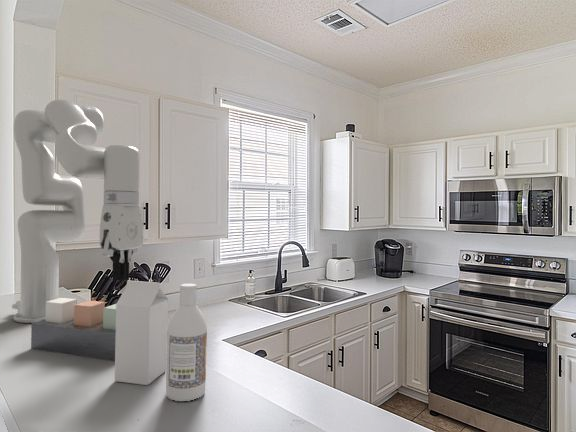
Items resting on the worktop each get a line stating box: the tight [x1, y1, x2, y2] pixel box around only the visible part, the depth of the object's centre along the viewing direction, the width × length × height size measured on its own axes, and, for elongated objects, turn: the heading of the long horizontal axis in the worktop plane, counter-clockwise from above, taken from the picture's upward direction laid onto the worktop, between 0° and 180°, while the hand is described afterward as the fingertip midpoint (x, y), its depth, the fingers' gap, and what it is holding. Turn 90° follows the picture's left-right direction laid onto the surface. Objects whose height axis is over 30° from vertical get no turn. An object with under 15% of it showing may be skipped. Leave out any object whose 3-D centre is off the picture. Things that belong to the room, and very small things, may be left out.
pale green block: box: [103, 303, 117, 330], centre depth 92 cm, size 5×5×6 cm
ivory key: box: [46, 297, 78, 323], centre depth 96 cm, size 5×5×6 cm
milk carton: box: [114, 279, 169, 386], centre depth 79 cm, size 7×7×19 cm
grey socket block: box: [30, 319, 116, 362], centre depth 94 cm, size 23×10×6 cm, turn 76°
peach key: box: [74, 300, 106, 327], centre depth 94 cm, size 5×5×6 cm
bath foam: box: [165, 283, 208, 402], centre depth 72 cm, size 7×7×20 cm
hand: (120, 279), depth 92 cm, fingers closed
